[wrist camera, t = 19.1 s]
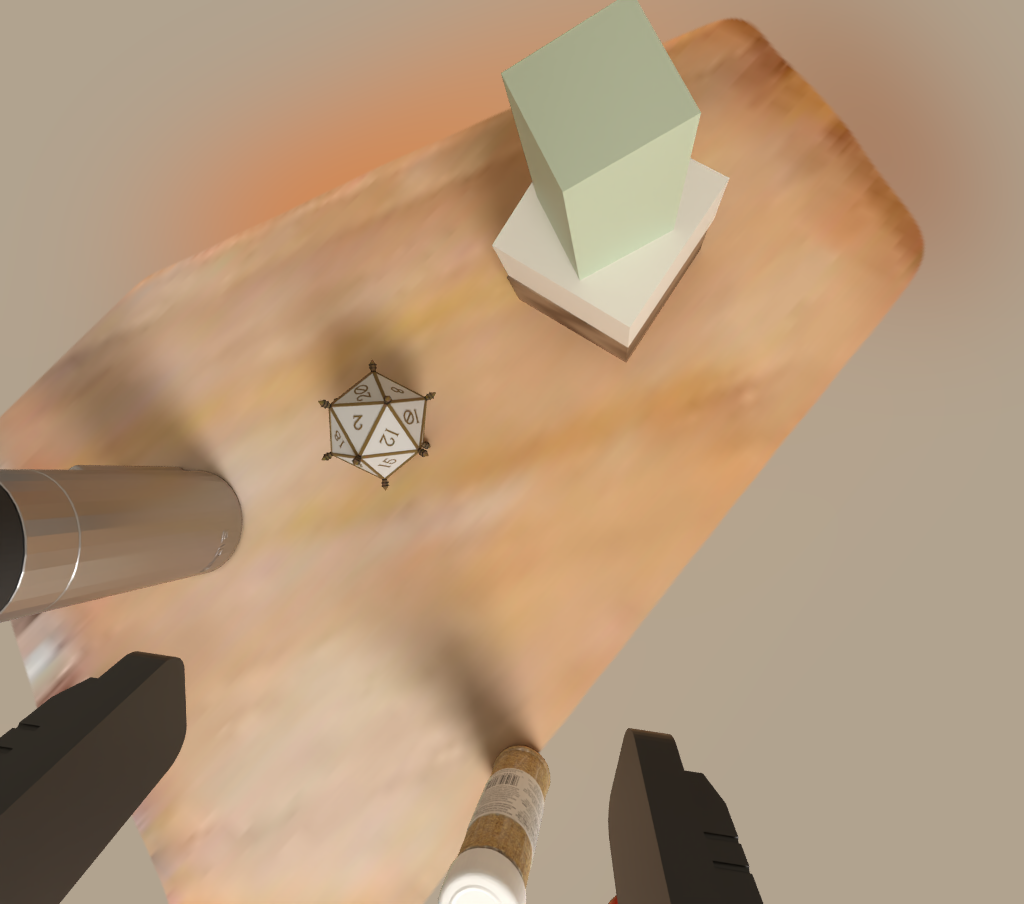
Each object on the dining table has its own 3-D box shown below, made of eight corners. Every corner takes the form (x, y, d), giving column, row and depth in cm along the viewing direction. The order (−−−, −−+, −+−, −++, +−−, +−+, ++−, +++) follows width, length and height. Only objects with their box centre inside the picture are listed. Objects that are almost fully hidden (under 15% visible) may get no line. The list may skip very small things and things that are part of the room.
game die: (396, 432, 47) (290, 389, 41) (458, 378, 43) (351, 320, 37) (403, 518, 42) (283, 484, 36) (473, 465, 38) (352, 416, 32)
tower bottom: (519, 299, 42) (506, 277, 37) (587, 191, 41) (584, 153, 36) (626, 363, 40) (627, 347, 35) (699, 250, 39) (711, 218, 35)
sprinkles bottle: (494, 799, 41) (434, 955, 27) (493, 739, 41) (435, 866, 28) (552, 806, 40) (520, 972, 26) (552, 745, 40) (520, 879, 27)
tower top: (508, 275, 37) (491, 245, 32) (587, 152, 36) (582, 102, 32) (627, 347, 35) (629, 327, 30) (713, 220, 35) (729, 178, 30)
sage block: (673, 229, 30) (701, 112, 20) (579, 280, 31) (562, 192, 21) (627, 143, 31) (631, -10, 21) (536, 196, 32) (501, 73, 22)
